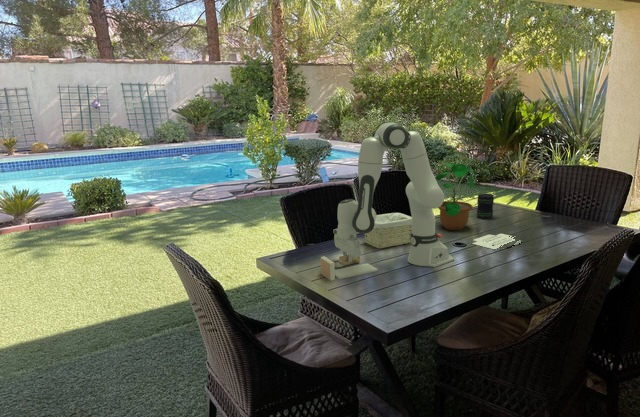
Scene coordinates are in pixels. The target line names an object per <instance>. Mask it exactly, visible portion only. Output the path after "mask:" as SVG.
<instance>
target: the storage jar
mask: <svg viewBox="0 0 640 417" xmlns="http://www.w3.org/2000/svg"><path fill="white" fill-rule="evenodd" d="M494 197H495V196H494V194H491V193H479V194H477V200H476V201H477V202H476V204H477V208H476V219H478V220H483V221H487V220H488V221H489V220H493V216H494V215H493V214H494V210H493V208H494V200H495V199H494Z"/></svg>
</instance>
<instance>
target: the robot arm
mask: <svg viewBox="0 0 640 417" xmlns="http://www.w3.org/2000/svg"><path fill="white" fill-rule="evenodd" d="M421 136H422V135H421V134H420V133H419V132H418V131H414V130H409V131H408V130H406V128H405V127H403V126H402V125H400V124H398V123H396V122H391V121H385V122H382V123H380V124H379V125H378V126H377V127H376V129H375V130H374V132H373V134H372V135H371V136H370V137H366V138H365V139H362V142H361V145H360V148H359V153H358V159H357V160H358V162H357V173H358V175H357V176H358V186H359V189H358V190H359V192H358V201H356V200H355V199H353V198H348V199H344V200H341V201H340V202H339V203H338V206H337V222H338V224H337V228H335V229H333V234H334V236H333V239H334V245H335V248H337V249H339V250H341V253H342V256H345V255H348V256H349V257H348V258H347V261H348V262H352V258H353V257H359V256H360V257H361V256H362V250H361V242H360V241H359V240H358V238H357V234H358V233H359V234H360V235H362V234H363V235H365V234H367V233H369V232H371V231H372V230H373V228H374V224H375V219H376V215H377V211H376V210H375V209H374V208H373V200H374V199H373V198H374V192H375V189H376V187H377V184H378V182H379V181H380V180H379V179H380V177H381V173H382V169H383V162H384V154H385V152H386V151H387V149H388V148H390V149H394V150H395V149H399V151H400V153H401V156H402V157H401V158H402V161H403V162H402V163H403V165H404V169H405V173H406V175H407V177H408V178H409V180H410V181H409V182H408V184H407V185H406V187H405V194H406V196H407V199H408V203H409V209H410V215H411V216H410V217H412V232H411V237H410V240H411V243H410V248H409V254H408V257H407V262H408V263H410V264H412V265H414V266H418V267H419V266H420V267H431V268H437V267H439V266H441V265H445V264H447V263H451V262H453V261H454V257H453V256H452V255H450V254H449V252H450V251H449V248H448V246H446V245H445V244H444V243H442V242H441V241H440V240H439V239H442V238H443V234H441V233H437V232H436V215H435V214H434V211H433V209H439V208H438V207H439V206H441V205H442V203H443V202H445V199H444V198H445V193H444V191H443V190H442V189H441V187H440V185H439V184H438V180H436V178H435V177H436V176H435V175H434V172H433V170H432V168H431V164H430V160H429V157H428V153H427V150H426V149H427V148H426V146H425V143H424V141H423V138H422V137H421Z"/></svg>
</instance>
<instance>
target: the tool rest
mask: <svg viewBox="0 0 640 417" xmlns="http://www.w3.org/2000/svg"><path fill="white" fill-rule="evenodd" d="M378 270H379V269H378V268H377V267H375V266H373V265H371V264H370V263H368V262H367V263H363V264H358V265H352V266H347V267H340V268H335V278H337V279H338V280H342V279H346V278H347V279H348V278H352V277H356V276H361V275H365V274H370V273H376V272H378Z"/></svg>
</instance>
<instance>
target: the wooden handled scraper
mask: <svg viewBox="0 0 640 417" xmlns="http://www.w3.org/2000/svg"><path fill="white" fill-rule="evenodd" d="M348 257H349V256H348V254H347V255H345V256H343V255H341V256H338V261H337V262H334V263H335V269H341V268H344V266H349V265H354V264H359V263H360V262H361V255H360V256H359V257H353V258H352V262H348V261H347V258H348Z"/></svg>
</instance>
